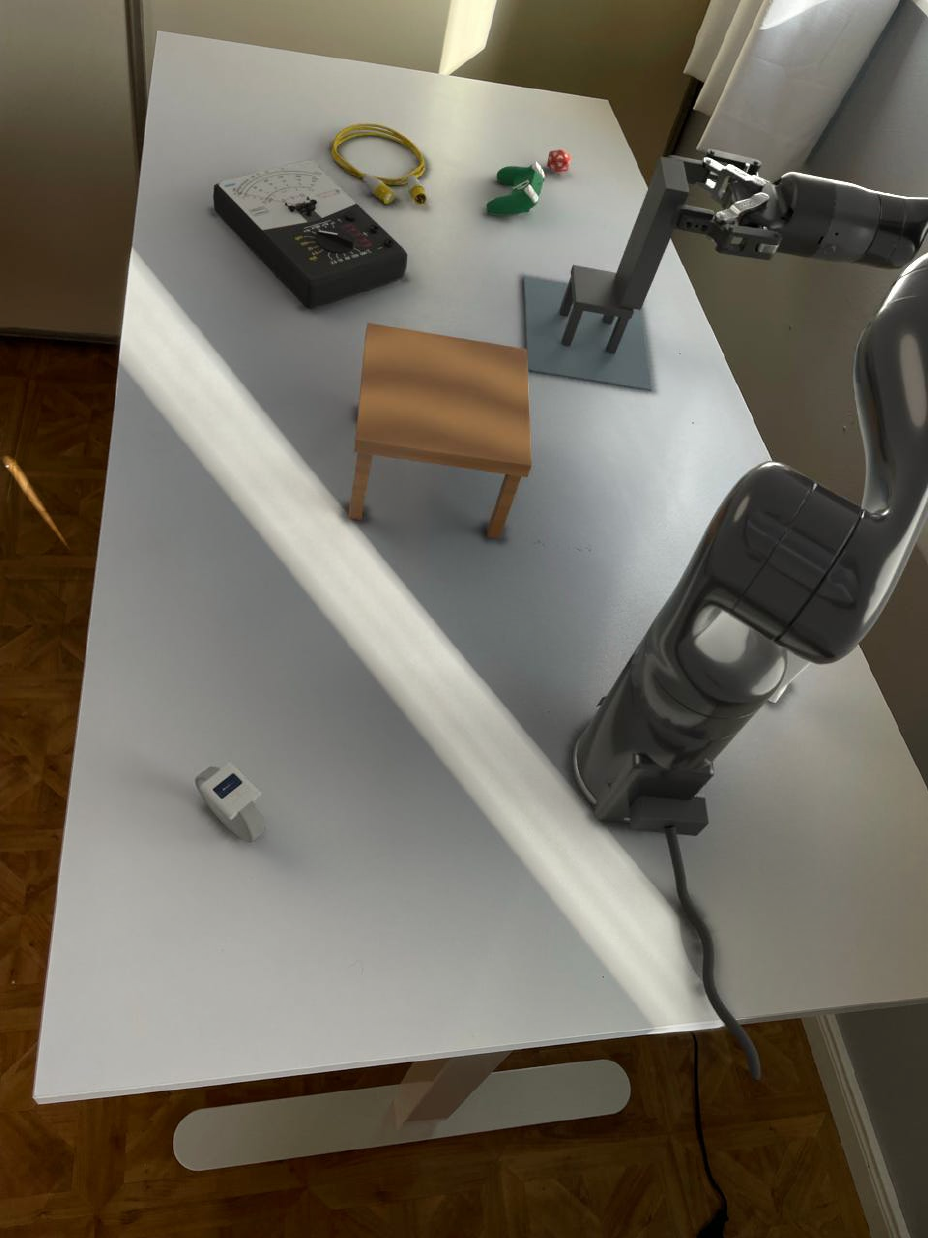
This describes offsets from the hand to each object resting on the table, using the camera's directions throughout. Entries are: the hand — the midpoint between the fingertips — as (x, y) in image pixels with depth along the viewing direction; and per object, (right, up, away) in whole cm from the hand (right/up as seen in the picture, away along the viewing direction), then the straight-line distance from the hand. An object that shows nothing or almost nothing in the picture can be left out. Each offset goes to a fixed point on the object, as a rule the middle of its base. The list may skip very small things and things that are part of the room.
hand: (668, 190), depth 99 cm
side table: (-24, -28, -3) cm, 37 cm away
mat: (-6, -10, +15) cm, 19 cm away
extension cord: (-31, +13, +25) cm, 42 cm away
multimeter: (-38, -1, +14) cm, 40 cm away
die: (-8, +16, +33) cm, 38 cm away
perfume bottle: (+7, -49, -9) cm, 50 cm away
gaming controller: (-14, +10, +27) cm, 32 cm away
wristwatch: (-37, -57, -26) cm, 73 cm away
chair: (-6, -10, +14) cm, 19 cm away
